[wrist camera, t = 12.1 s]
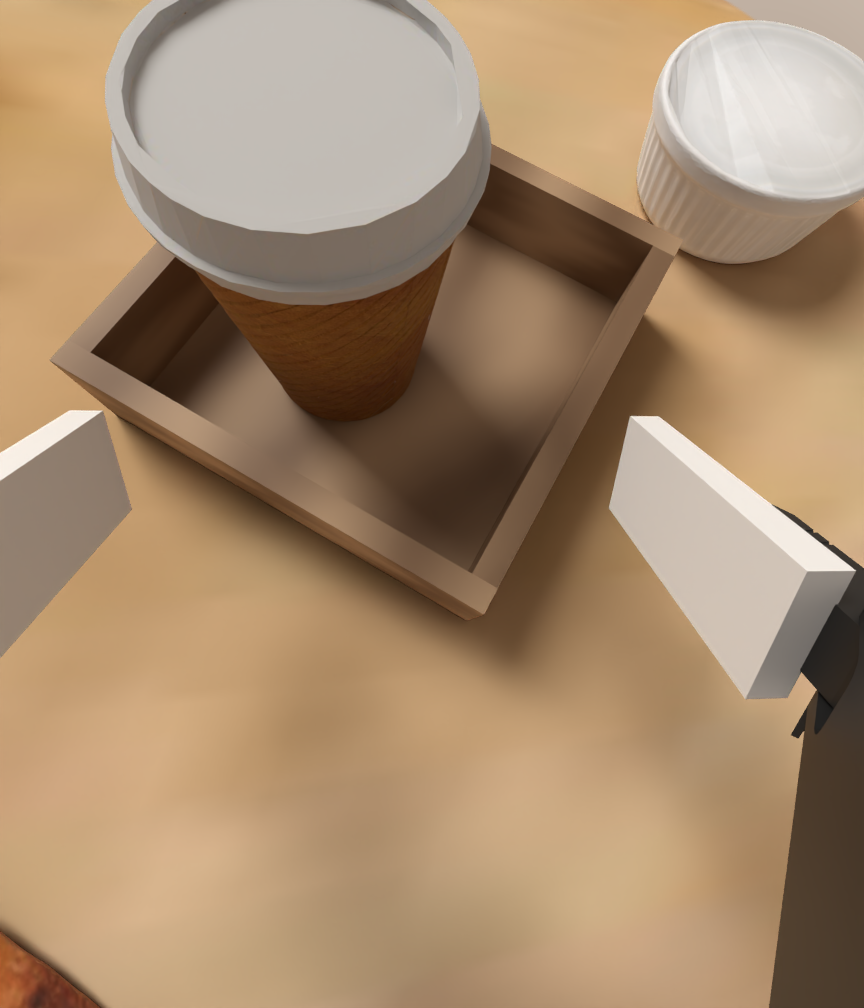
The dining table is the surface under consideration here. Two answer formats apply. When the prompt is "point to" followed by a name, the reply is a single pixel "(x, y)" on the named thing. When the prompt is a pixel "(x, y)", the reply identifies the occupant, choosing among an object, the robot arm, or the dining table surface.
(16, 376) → the dining table surface
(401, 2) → the disposable coffee cup
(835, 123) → the ramekin
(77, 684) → the dining table surface
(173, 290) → the open wooden box
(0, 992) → the bread slice
